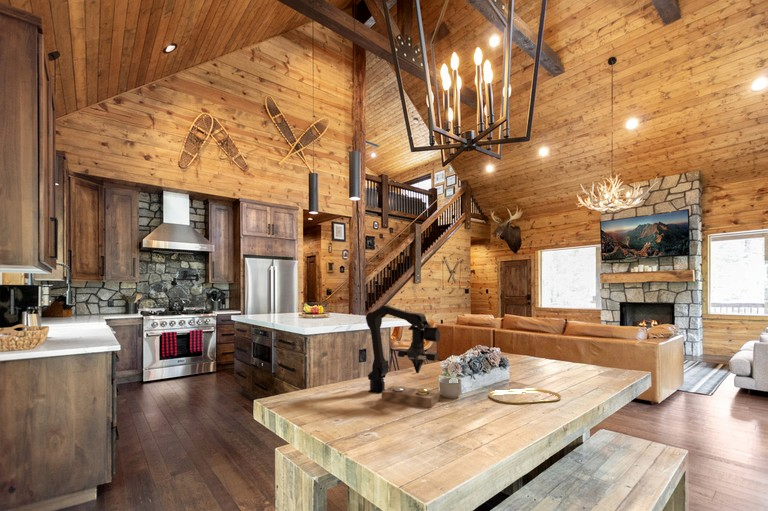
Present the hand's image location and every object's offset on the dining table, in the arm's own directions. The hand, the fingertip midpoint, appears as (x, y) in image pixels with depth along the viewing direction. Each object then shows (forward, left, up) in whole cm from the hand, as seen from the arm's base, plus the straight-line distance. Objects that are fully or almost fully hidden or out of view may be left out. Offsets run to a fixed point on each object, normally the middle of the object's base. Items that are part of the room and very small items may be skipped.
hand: (417, 373), depth 182 cm
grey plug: (-7, -5, -10) cm, 14 cm away
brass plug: (+5, -5, -9) cm, 11 cm away
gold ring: (+45, +24, -12) cm, 53 cm away
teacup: (+13, +11, -12) cm, 20 cm away
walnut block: (-1, -5, -12) cm, 13 cm away
